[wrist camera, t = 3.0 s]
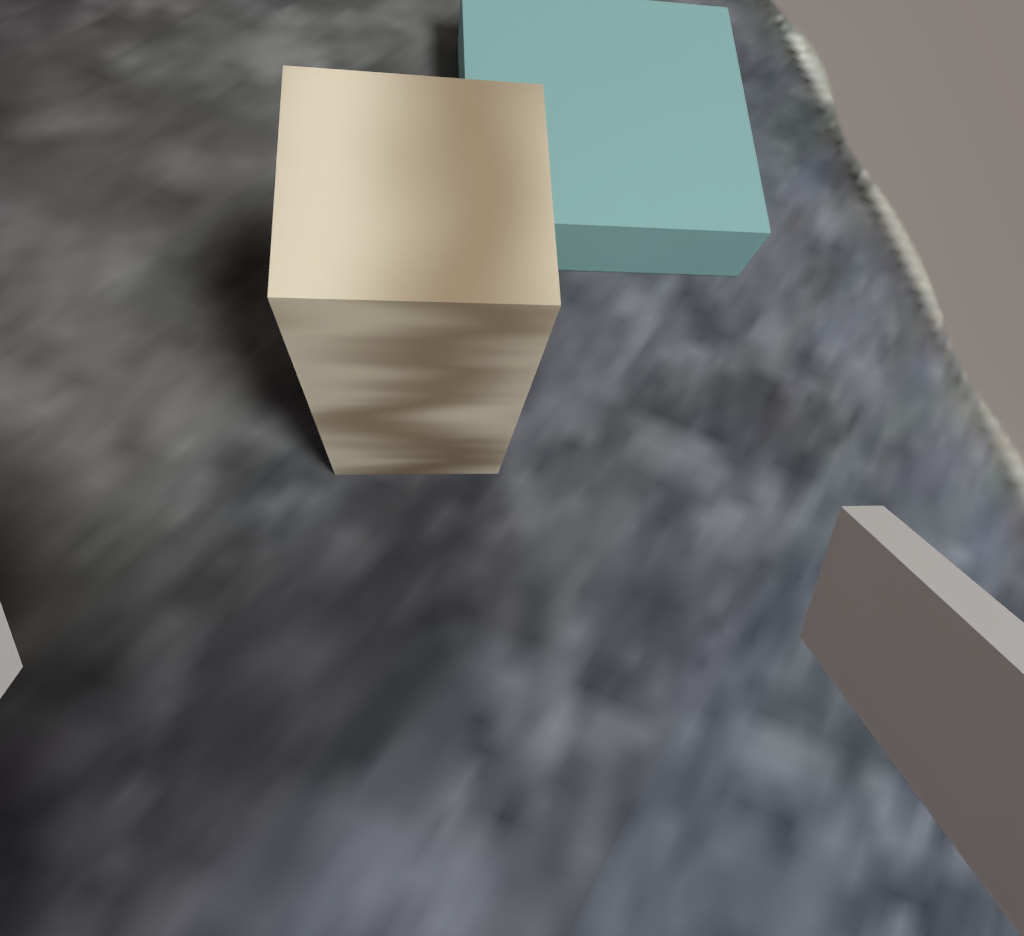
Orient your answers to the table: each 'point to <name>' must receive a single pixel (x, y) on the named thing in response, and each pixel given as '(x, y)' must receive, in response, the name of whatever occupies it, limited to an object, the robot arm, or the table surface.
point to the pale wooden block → (413, 263)
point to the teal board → (632, 128)
